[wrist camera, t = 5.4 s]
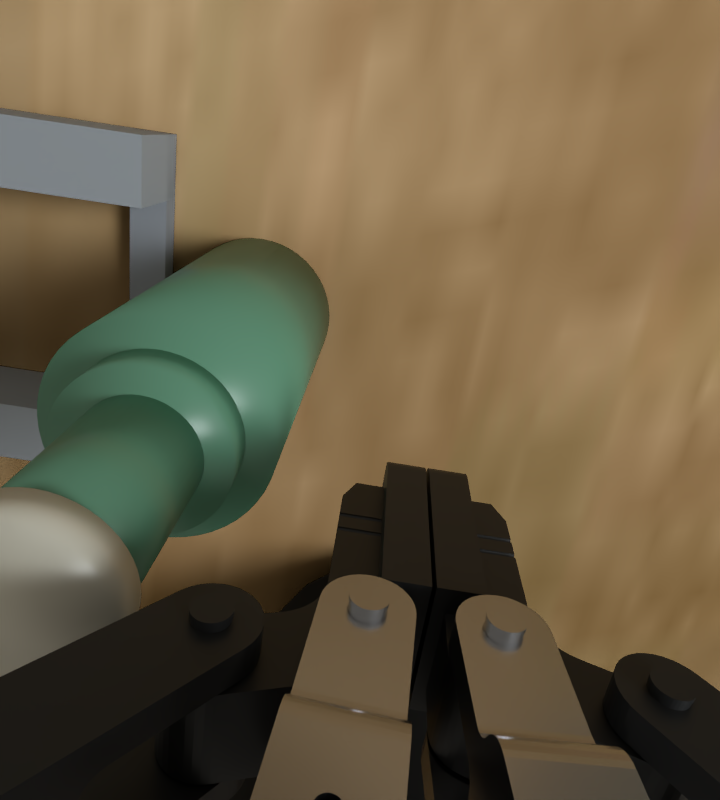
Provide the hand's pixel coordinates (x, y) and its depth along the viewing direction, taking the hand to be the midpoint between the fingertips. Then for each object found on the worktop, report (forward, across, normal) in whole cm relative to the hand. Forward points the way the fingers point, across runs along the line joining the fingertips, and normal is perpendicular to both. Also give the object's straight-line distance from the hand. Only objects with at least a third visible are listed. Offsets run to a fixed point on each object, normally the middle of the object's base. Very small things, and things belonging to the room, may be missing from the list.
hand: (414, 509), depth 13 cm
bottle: (+12, +6, 0) cm, 13 cm away
